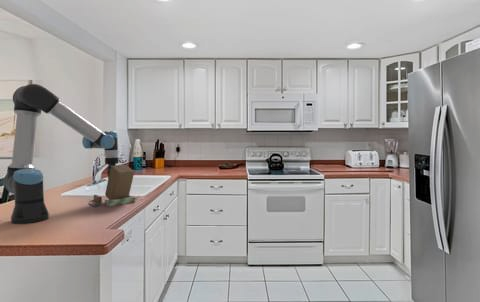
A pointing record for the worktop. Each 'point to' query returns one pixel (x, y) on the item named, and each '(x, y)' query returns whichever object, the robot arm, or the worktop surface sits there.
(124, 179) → the block
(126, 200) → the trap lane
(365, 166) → the worktop surface
